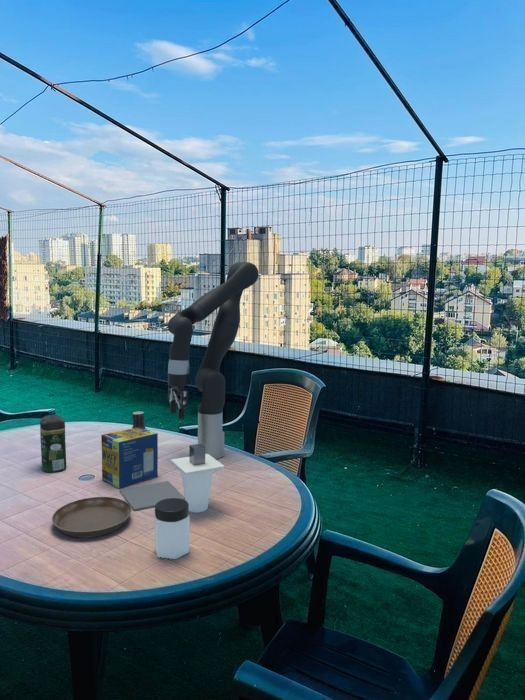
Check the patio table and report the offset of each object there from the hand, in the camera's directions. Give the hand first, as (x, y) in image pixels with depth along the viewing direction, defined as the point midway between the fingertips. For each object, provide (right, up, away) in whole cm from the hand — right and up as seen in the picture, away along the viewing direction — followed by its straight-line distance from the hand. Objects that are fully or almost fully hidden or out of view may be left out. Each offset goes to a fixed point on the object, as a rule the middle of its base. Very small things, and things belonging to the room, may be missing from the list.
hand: (177, 415), depth 191 cm
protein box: (-13, -19, -15) cm, 28 cm away
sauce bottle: (-12, -18, -4) cm, 22 cm away
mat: (-3, -21, -29) cm, 36 cm away
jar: (+9, -26, -61) cm, 67 cm away
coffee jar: (-42, -18, -7) cm, 46 cm away
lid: (+12, -10, -38) cm, 41 cm away
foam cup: (+12, -23, -36) cm, 44 cm away
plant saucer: (-15, -24, -47) cm, 55 cm away
